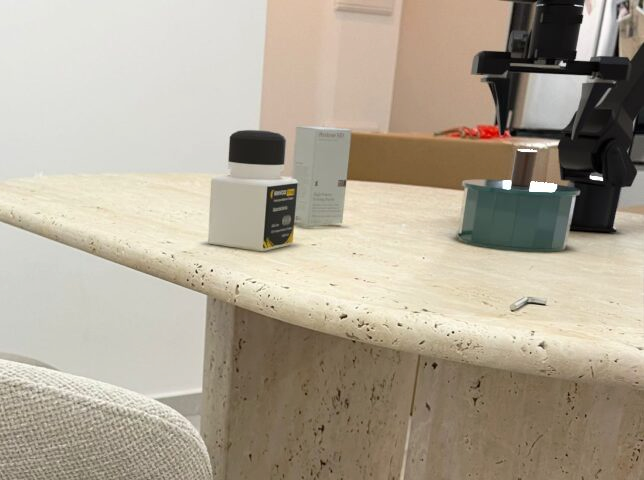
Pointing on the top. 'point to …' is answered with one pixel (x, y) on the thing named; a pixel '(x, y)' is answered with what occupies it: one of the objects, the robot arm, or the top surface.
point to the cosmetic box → (320, 175)
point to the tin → (515, 221)
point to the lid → (522, 180)
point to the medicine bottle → (253, 195)
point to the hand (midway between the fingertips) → (537, 137)
